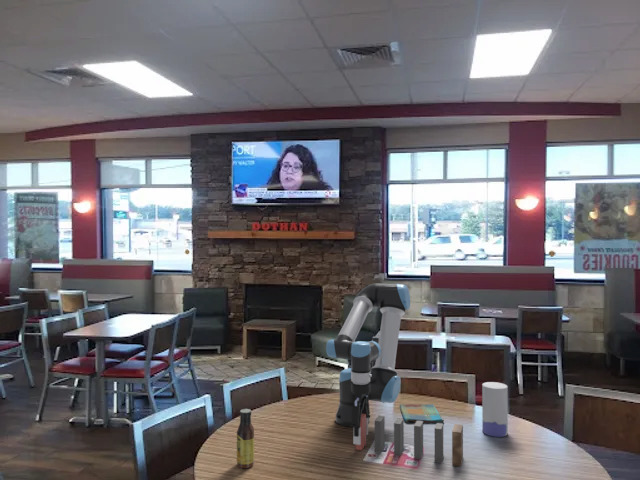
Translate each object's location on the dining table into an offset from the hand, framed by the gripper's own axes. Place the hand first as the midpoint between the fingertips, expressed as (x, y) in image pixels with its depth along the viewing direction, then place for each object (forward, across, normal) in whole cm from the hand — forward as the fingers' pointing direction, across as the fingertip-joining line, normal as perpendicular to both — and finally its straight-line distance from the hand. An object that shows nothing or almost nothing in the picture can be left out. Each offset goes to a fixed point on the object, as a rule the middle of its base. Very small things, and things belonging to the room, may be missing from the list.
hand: (360, 439), depth 198 cm
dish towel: (+4, +45, -16) cm, 48 cm away
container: (+3, +34, -48) cm, 59 cm away
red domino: (+3, 0, 0) cm, 3 cm away
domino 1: (+3, 0, -8) cm, 8 cm away
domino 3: (+3, 0, -22) cm, 23 cm away
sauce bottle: (+3, -30, +34) cm, 46 cm away
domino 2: (+3, 0, -15) cm, 15 cm away
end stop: (+3, 0, -37) cm, 37 cm away
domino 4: (+3, 0, -30) cm, 30 cm away
